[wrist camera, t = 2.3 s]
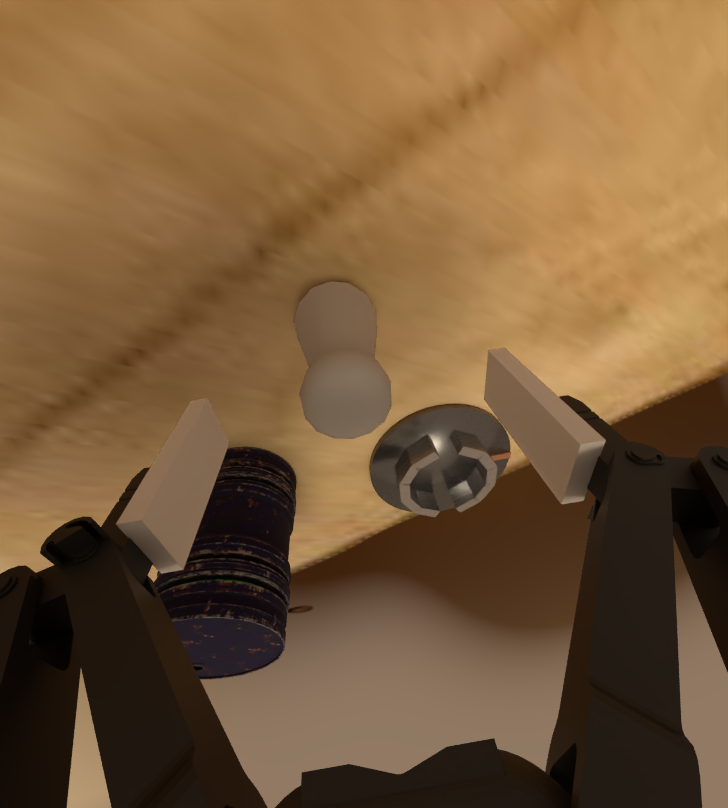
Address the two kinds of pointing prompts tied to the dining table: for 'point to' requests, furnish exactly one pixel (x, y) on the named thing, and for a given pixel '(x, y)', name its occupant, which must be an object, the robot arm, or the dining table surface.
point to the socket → (440, 459)
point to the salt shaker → (341, 362)
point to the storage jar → (237, 569)
